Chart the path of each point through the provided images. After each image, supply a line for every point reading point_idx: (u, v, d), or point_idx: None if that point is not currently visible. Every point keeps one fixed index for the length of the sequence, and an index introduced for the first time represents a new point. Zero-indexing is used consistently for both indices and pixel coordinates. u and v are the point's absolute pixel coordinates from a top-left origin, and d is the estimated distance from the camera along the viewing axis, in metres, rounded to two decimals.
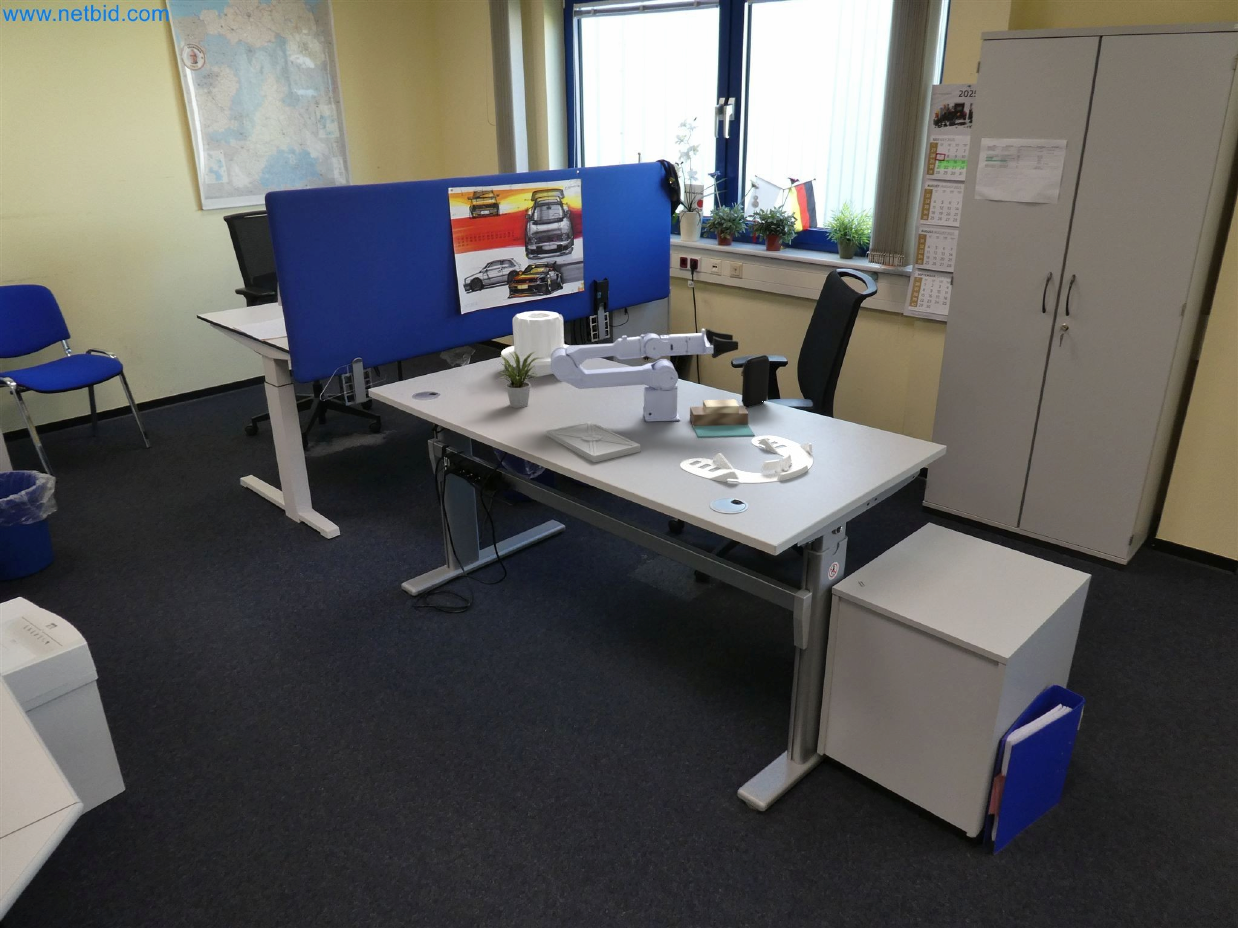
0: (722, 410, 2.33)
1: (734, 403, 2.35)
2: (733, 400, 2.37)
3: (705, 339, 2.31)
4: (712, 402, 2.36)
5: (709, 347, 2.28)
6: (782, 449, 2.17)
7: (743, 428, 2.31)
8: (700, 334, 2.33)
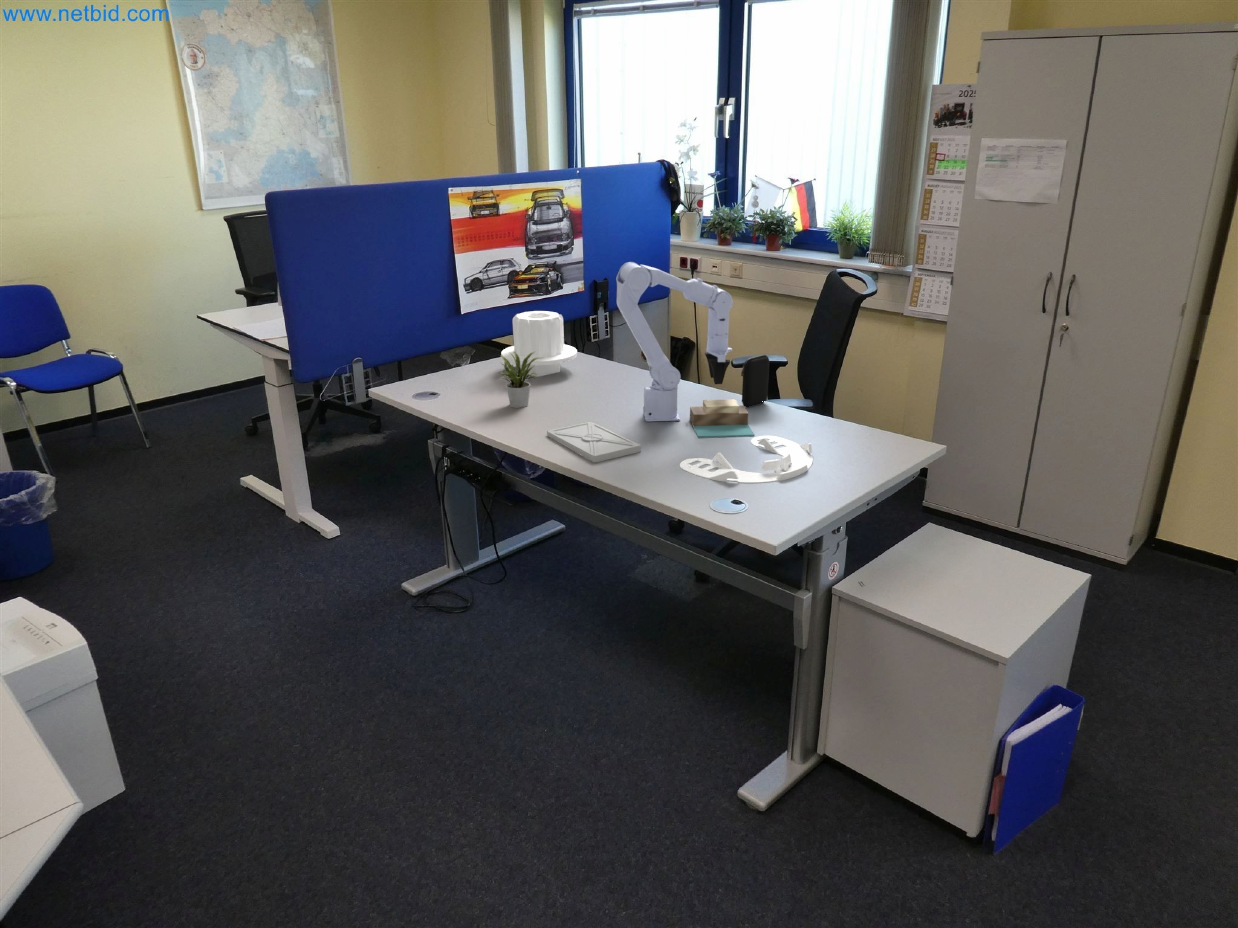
0: (722, 410, 2.33)
1: (734, 403, 2.35)
2: (733, 400, 2.37)
3: (726, 353, 2.35)
4: (712, 402, 2.36)
5: (724, 358, 2.32)
6: (782, 449, 2.17)
7: (743, 428, 2.31)
8: (727, 347, 2.38)
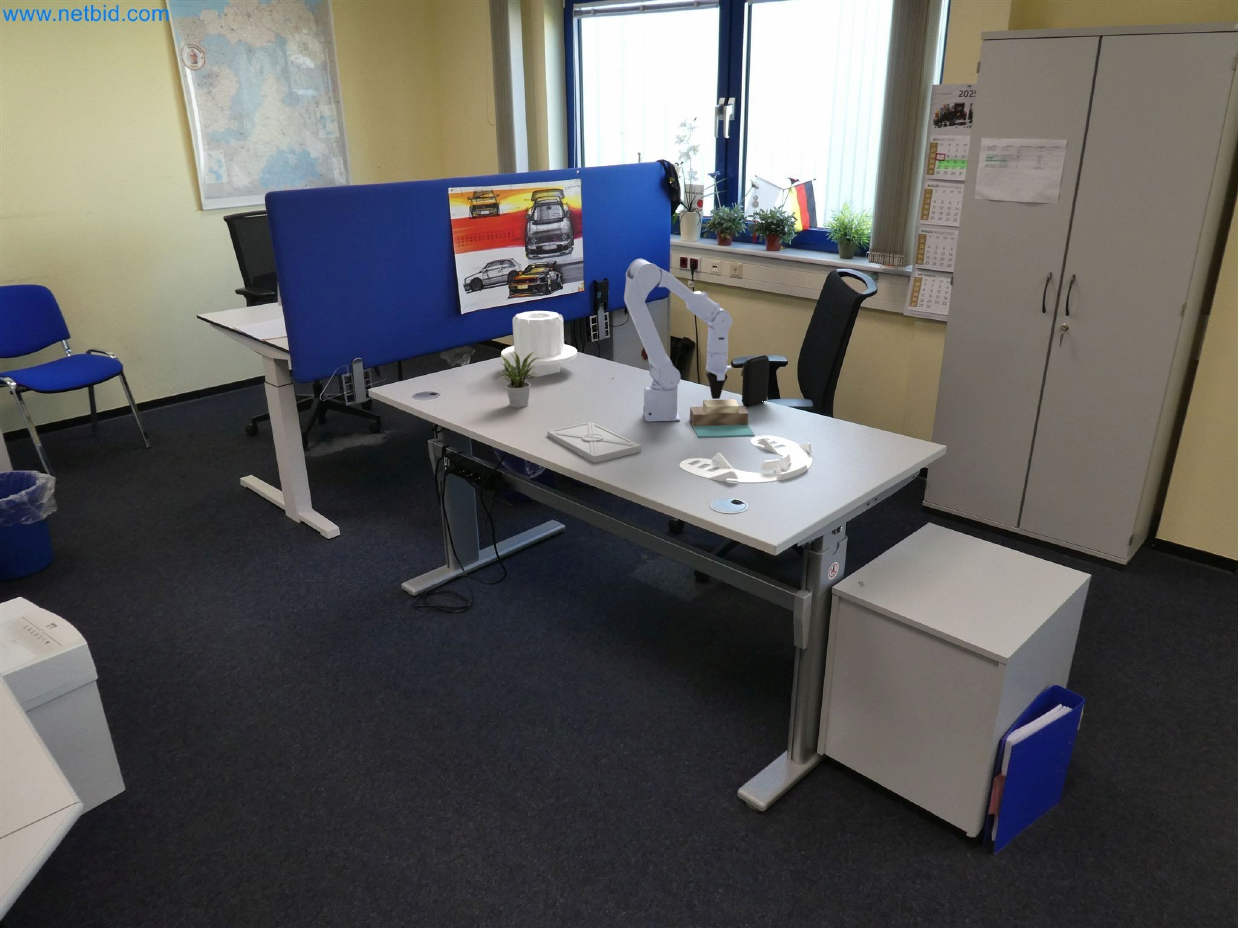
0: (722, 410, 2.33)
1: (734, 403, 2.35)
2: (733, 400, 2.37)
3: (726, 371, 2.37)
4: (712, 402, 2.36)
5: (723, 376, 2.34)
6: (781, 449, 2.17)
7: (743, 428, 2.31)
8: None
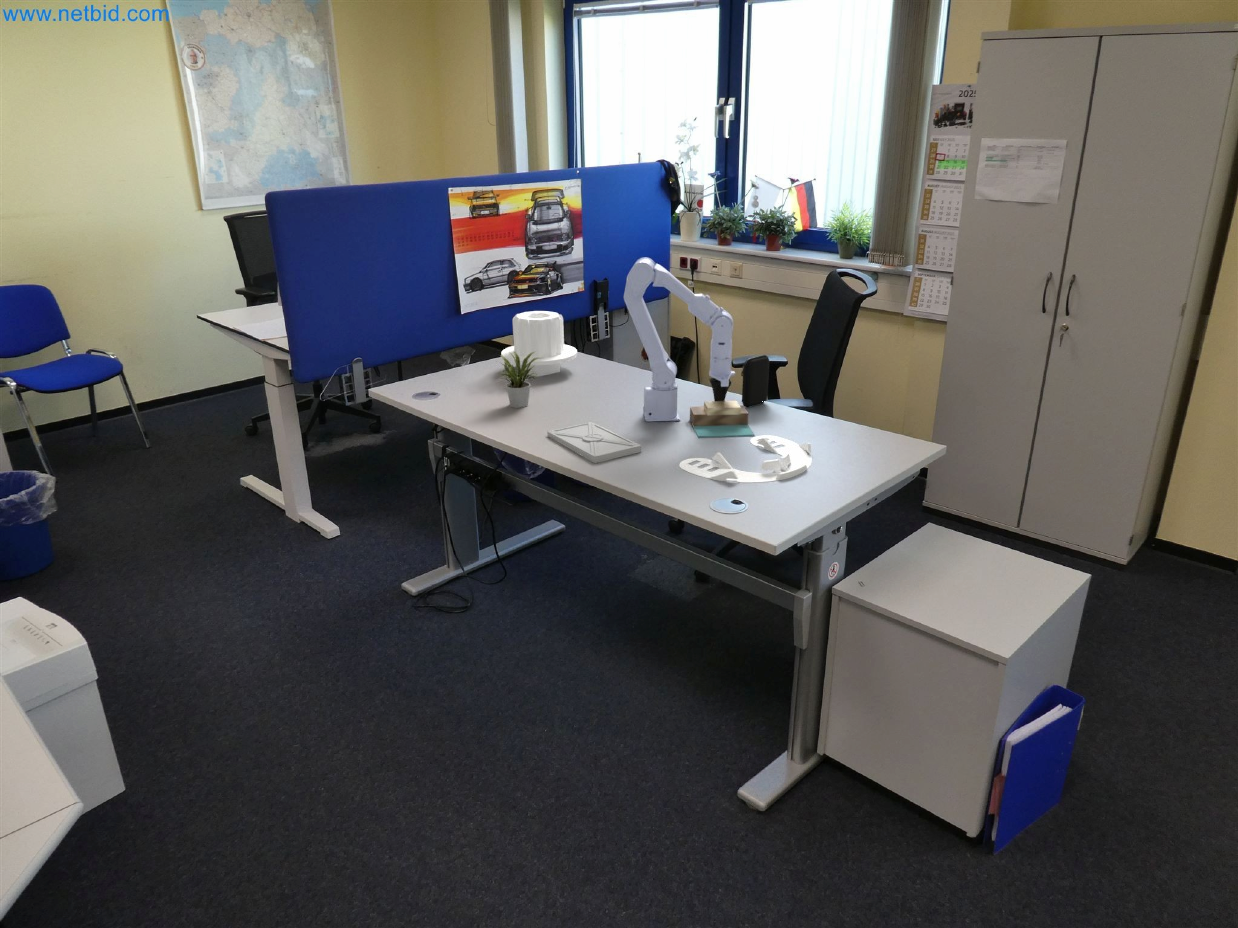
0: (723, 412, 2.32)
1: (735, 404, 2.34)
2: (734, 401, 2.36)
3: (729, 377, 2.32)
4: (713, 403, 2.35)
5: (727, 382, 2.29)
6: (781, 449, 2.17)
7: (743, 428, 2.31)
8: (730, 370, 2.34)
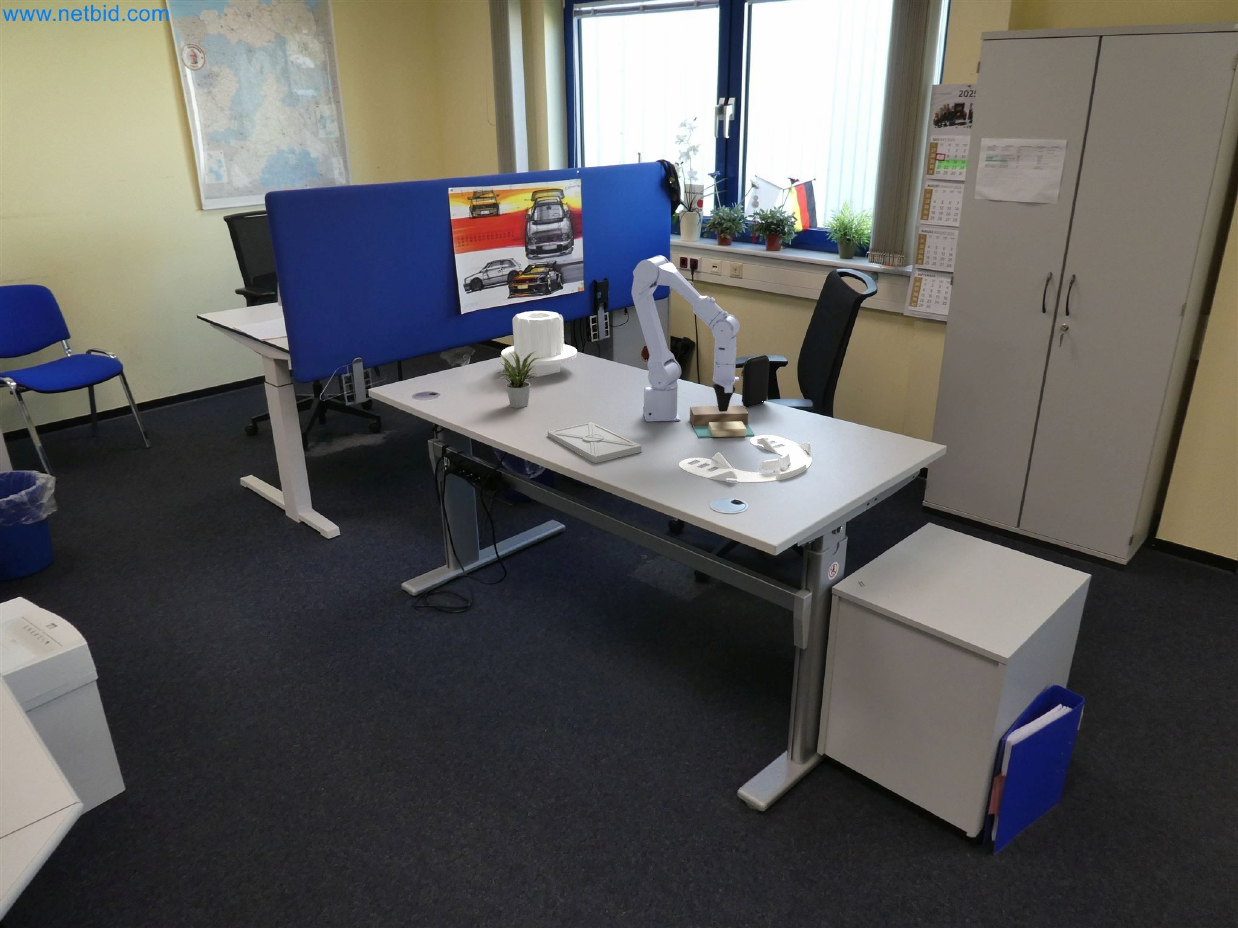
0: None
1: None
2: None
3: (733, 383, 2.27)
4: None
5: (731, 388, 2.23)
6: (781, 448, 2.17)
7: None
8: (734, 376, 2.29)
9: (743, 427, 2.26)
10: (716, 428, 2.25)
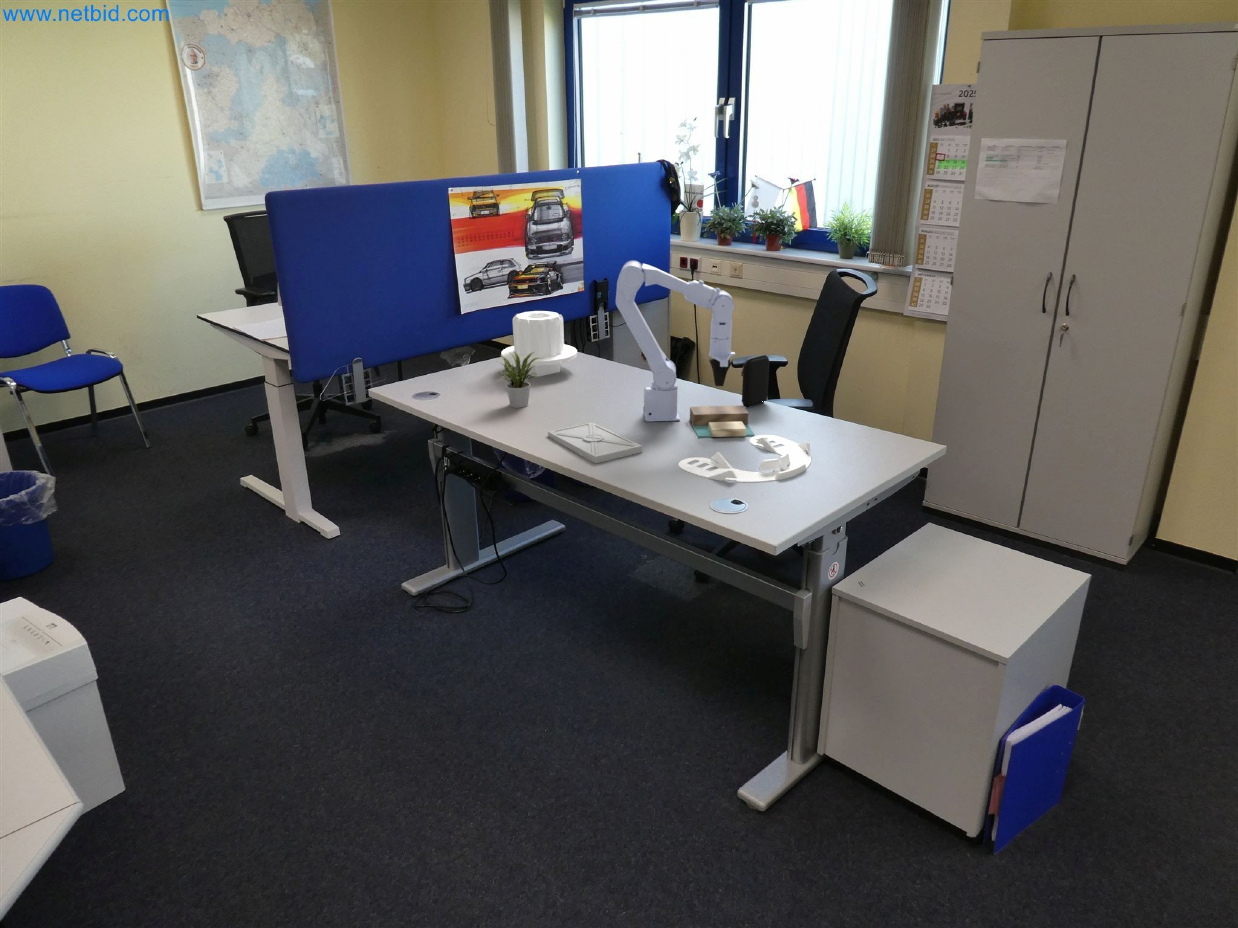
0: None
1: None
2: None
3: (729, 357, 2.31)
4: None
5: (727, 362, 2.28)
6: (780, 448, 2.17)
7: None
8: (730, 351, 2.33)
9: (743, 427, 2.26)
10: (716, 428, 2.25)
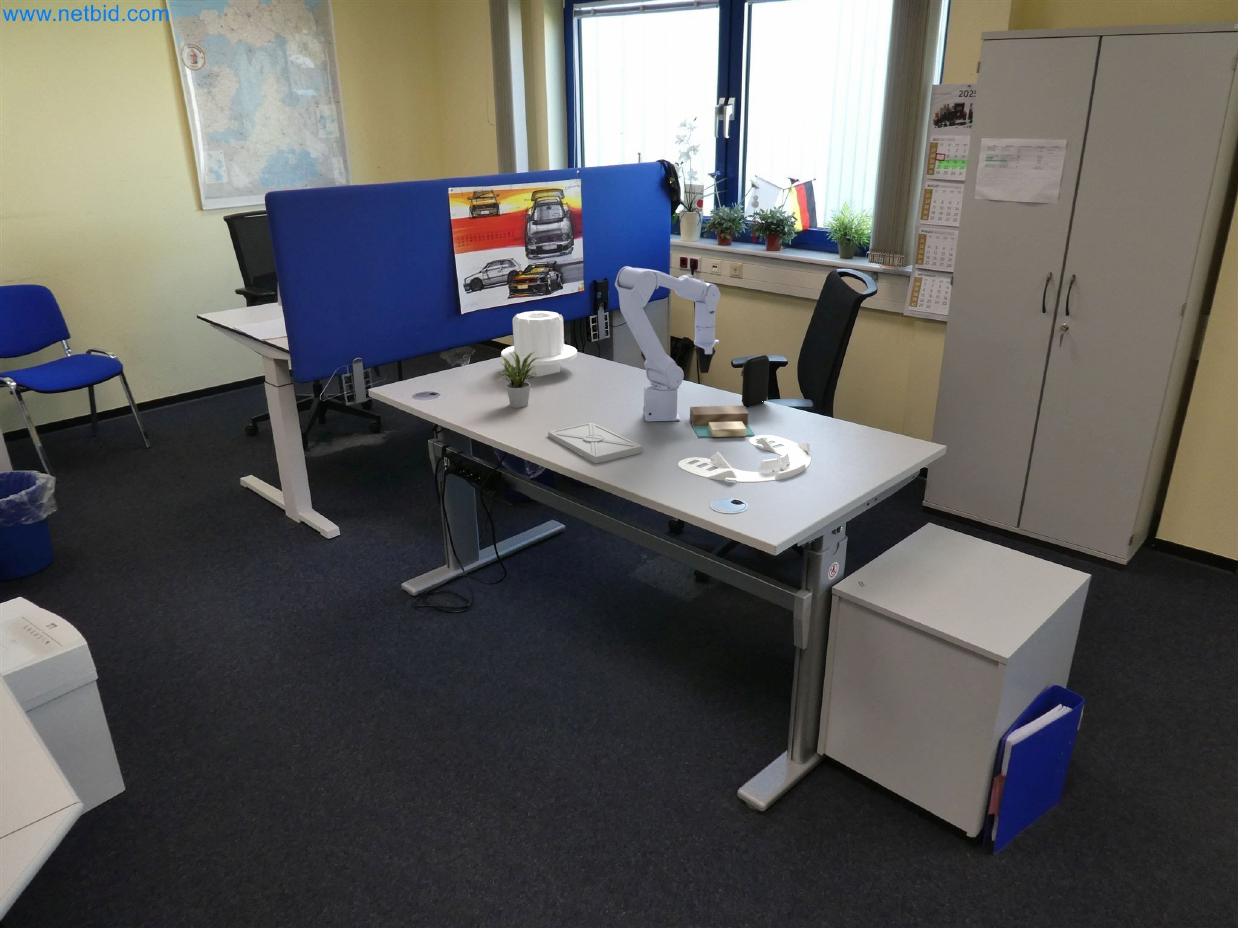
0: None
1: None
2: None
3: (713, 345, 2.40)
4: None
5: (711, 350, 2.36)
6: (780, 448, 2.17)
7: None
8: (714, 339, 2.42)
9: (743, 427, 2.26)
10: (716, 428, 2.25)
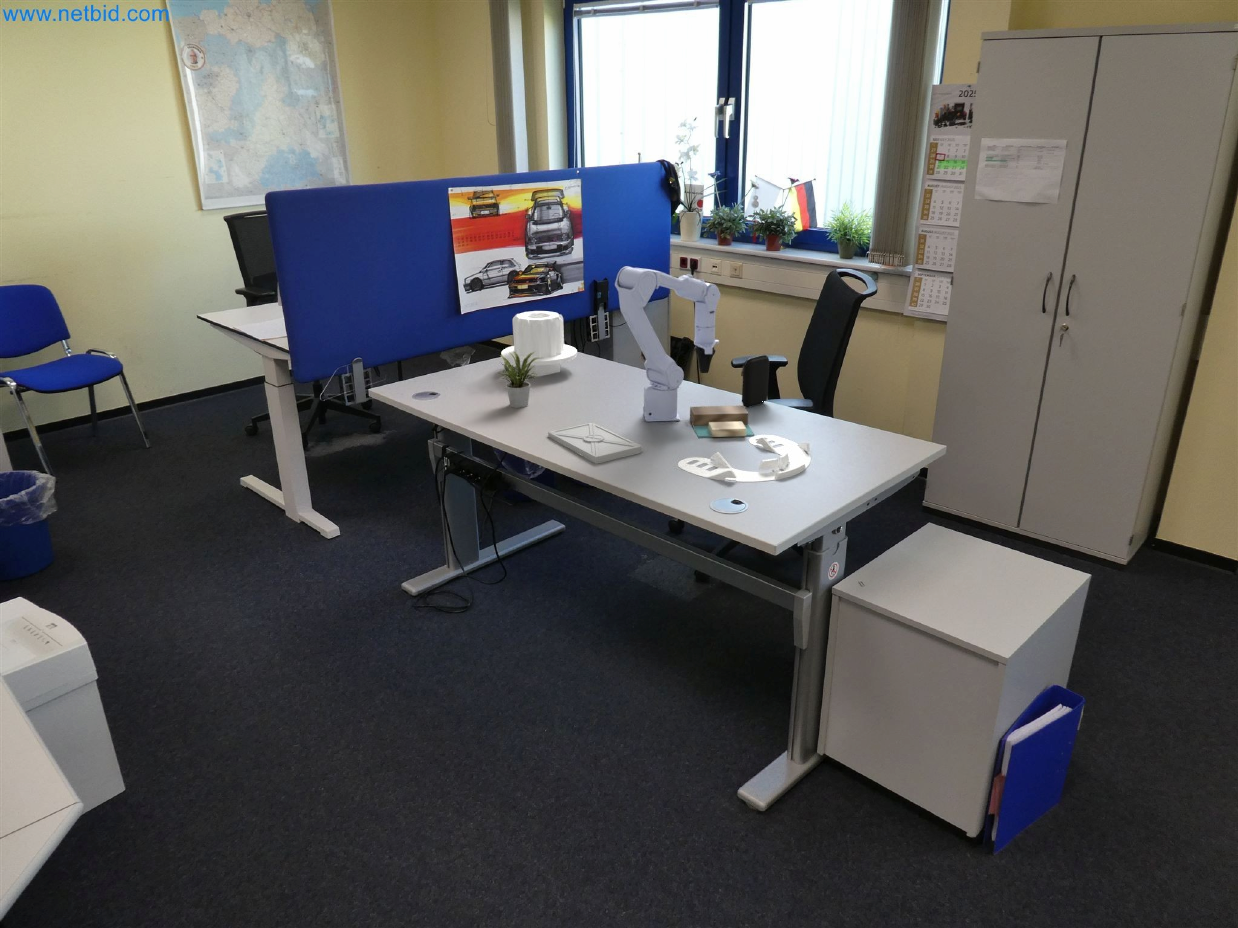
0: None
1: None
2: None
3: (713, 345, 2.40)
4: None
5: (711, 350, 2.36)
6: (780, 448, 2.17)
7: None
8: (714, 339, 2.42)
9: (743, 427, 2.26)
10: (716, 428, 2.25)
